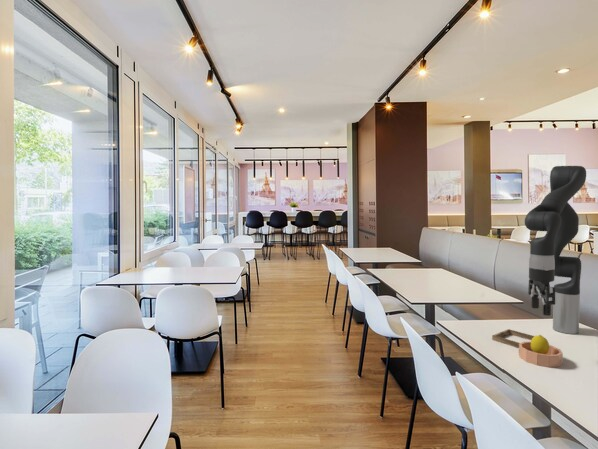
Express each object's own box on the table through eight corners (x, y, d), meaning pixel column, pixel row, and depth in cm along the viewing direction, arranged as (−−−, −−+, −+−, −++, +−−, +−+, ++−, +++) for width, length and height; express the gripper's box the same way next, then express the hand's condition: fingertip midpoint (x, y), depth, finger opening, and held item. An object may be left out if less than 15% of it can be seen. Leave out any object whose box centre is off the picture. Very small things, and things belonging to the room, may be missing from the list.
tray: (508, 333, 150) (508, 329, 150) (543, 343, 139) (543, 338, 139) (492, 339, 143) (492, 335, 143) (528, 350, 131) (528, 346, 131)
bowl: (528, 349, 133) (528, 339, 133) (567, 361, 122) (567, 350, 122) (512, 357, 126) (512, 346, 126) (552, 370, 115) (552, 358, 115)
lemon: (551, 360, 121) (552, 338, 121) (534, 359, 122) (535, 337, 122) (544, 353, 126) (544, 332, 126) (527, 352, 128) (528, 331, 127)
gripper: (521, 263, 130) (520, 305, 131) (539, 270, 116) (538, 317, 117) (543, 264, 129) (542, 306, 130) (564, 270, 115) (563, 318, 116)
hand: (540, 311), depth 123 cm, fingers open, 8 cm apart
